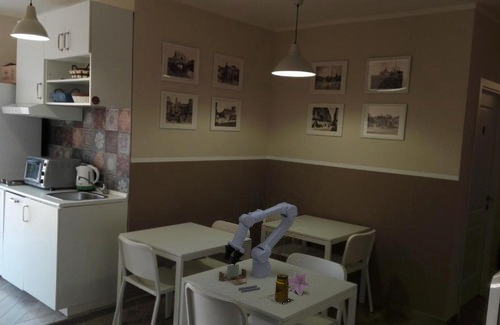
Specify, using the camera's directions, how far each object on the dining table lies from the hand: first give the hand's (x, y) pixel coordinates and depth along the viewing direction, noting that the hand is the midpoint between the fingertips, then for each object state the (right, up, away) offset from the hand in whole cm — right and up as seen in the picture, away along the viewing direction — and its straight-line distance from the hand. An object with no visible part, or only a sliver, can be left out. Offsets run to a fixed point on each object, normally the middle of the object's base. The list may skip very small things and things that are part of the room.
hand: (229, 262), depth 230 cm
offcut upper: (+5, -10, -4) cm, 12 cm away
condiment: (+26, -14, -19) cm, 35 cm away
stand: (+10, -12, -12) cm, 20 cm away
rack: (+3, -11, 0) cm, 11 cm away
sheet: (+2, -10, +2) cm, 10 cm away
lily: (+34, -13, -8) cm, 37 cm away
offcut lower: (+5, -11, -4) cm, 12 cm away
